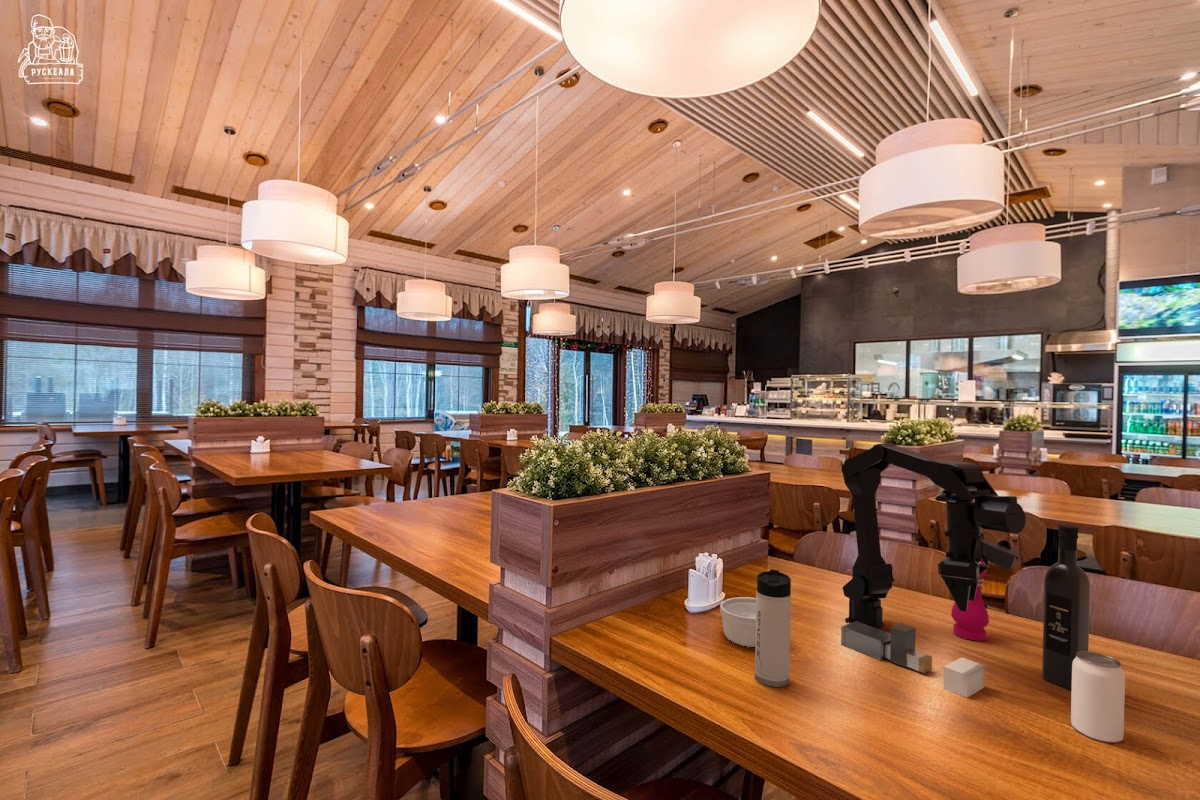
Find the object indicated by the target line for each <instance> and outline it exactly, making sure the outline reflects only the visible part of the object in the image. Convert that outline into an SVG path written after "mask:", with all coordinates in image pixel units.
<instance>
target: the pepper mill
mask: <svg viewBox="0 0 1200 800" xmlns="http://www.w3.org/2000/svg"><path fill="white" fill-rule="evenodd" d="M981 564H985V562H983V561H982V562H981ZM987 570H988V568H987V569H986V570H985V571H983V572H982V573H981V574H980V576H979V581H978V586H977V590H976V595H975V600H974V601H971V600H968V605H967V611H966V612H964V611H960V610H959V608H958V606H957V604H956V602H955V601H954V603H953V605H952V608H951V613H950V614H951V618H952V619H953V621H954V622H955V623H954V624H953V629H952V630H953V634H954V635H955V636H956V637H958V636H959V638H961V637H962V638H961V639H963V638H966V639H965V640H967V639H970V640H969V641H972V640H975V641H974V642H982V641H983V640H984V641H985V640H986V639H987V630H986V629H985V628H986V627H987V626H988V625H989V624H990V623H989V622H990V619H989V617H990V616H989V612H988V610H987V608H986V606H985V604H984V601H983V597H982V586H984V584H985V583H984V581H985V579H984V578H983V577H984V576H985V575H986V574H987Z"/></svg>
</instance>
